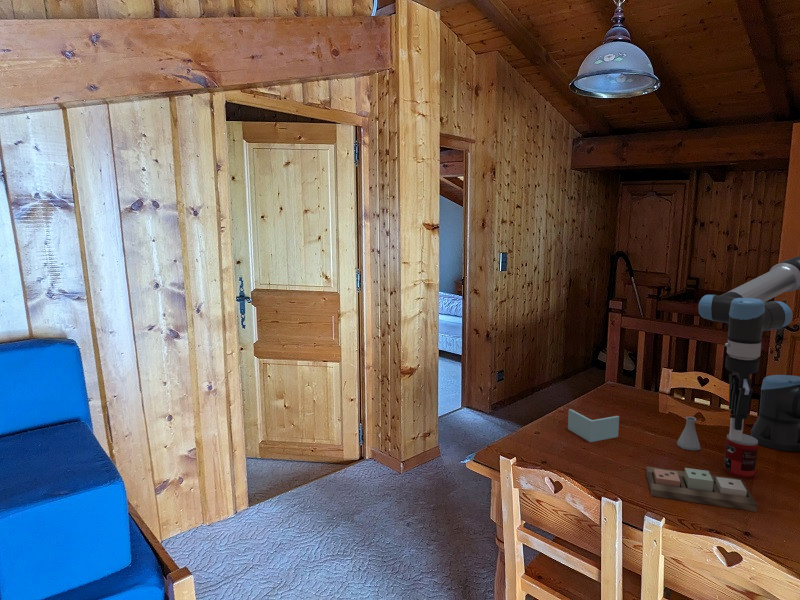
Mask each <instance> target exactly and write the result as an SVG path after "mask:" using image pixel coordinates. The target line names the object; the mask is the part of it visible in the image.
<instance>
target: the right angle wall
mask: <svg viewBox="0 0 800 600" xmlns="http://www.w3.org/2000/svg"><path fill="white" fill-rule="evenodd" d="M567 417H568V418H567V430H569V431H570V432H572V433H574V434H575V435H577V436H579V437H581V438H582V439H583V440H586V441H587V442H589V443H593V442H598V441H599V442H600V441H602V440H608V439H614V438H618V437H619V427H620V426H619V425H620V416H619V415H613V416H609V417H602V418H597V419H590V418H589V417H587V416H585V415H583V414H581V413H579V412H577V411H576V410H574V409H571V408H570V409H568V416H567Z"/></svg>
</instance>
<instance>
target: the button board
mask: <svg viewBox="0 0 800 600" xmlns="http://www.w3.org/2000/svg"><path fill="white" fill-rule="evenodd" d="M654 468H655V469H663V470H670V471H677V474H678V476H679V479H680V487H674V486H667V485H660V484H654V480H653V474H654ZM684 472H685V470H677V469H670V468H662V467H655V466H647V465H646V467H645V474H646V478H647V482H648V486H649V487H648V488H649V491H650V495H651V497H658V498H663V499H670V500H671V499H672V500H675V501H676V500H677V501H683V502H690V503H697V504H703V505H710V506H716V507H723V508H730V509H735V510H741V511H742V510H743V511H750V512H755V513H757V512H758V511H757V510H758V503H757V502H756V500H755V498H754V497H753V495H752V493H751V491H750V490H749V488H748V486H747V485H746V483H745V482H744V480H743V478H737V477H727V476H722V475H721V476H720V475H715V474H713V475H712V474H710V475H711V477H712V479H713V491H712V492H710V491H703V490H696V489H689V488H688V487H687V485H686V482H685V479H684ZM716 477H721V478H728V479H736V480H741V482H742V484H743V485H744V487H745V489H746V490H747V494H746V497H743V496H736V495H729V494H723V493H719V492H718V490H717V488H716V486H715V483H716Z"/></svg>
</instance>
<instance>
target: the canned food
mask: <svg viewBox="0 0 800 600" xmlns="http://www.w3.org/2000/svg"><path fill="white" fill-rule="evenodd" d="M758 450H759V444H758V440H757V439H756V438H754V437H752V436H751V435H748V434H746V433H743V434H742V441H738V440H730V438H729V433H727V435H726V439H725V450H724V459H723V469H724V471H725V472H727V473H728V474H729V475H732V476H734V477H736V478H737V477H738V478H741V479H751V478H753V477H754V476H755V474H756V467H757V465H756V464H757V457H758Z"/></svg>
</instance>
